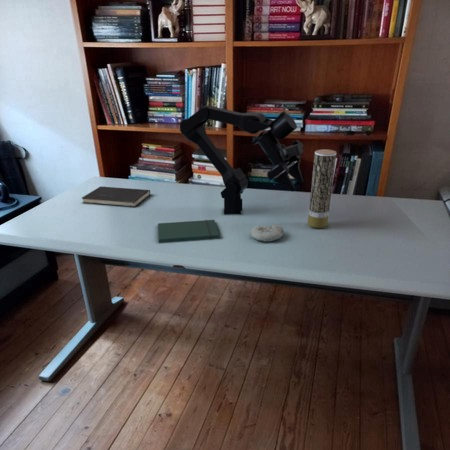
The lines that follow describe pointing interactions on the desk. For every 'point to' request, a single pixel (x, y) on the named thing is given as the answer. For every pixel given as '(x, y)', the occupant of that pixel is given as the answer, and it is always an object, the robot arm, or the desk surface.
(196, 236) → the notebook
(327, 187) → the paper tube
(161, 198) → the desk surface
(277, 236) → the fossil
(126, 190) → the hardcover book
